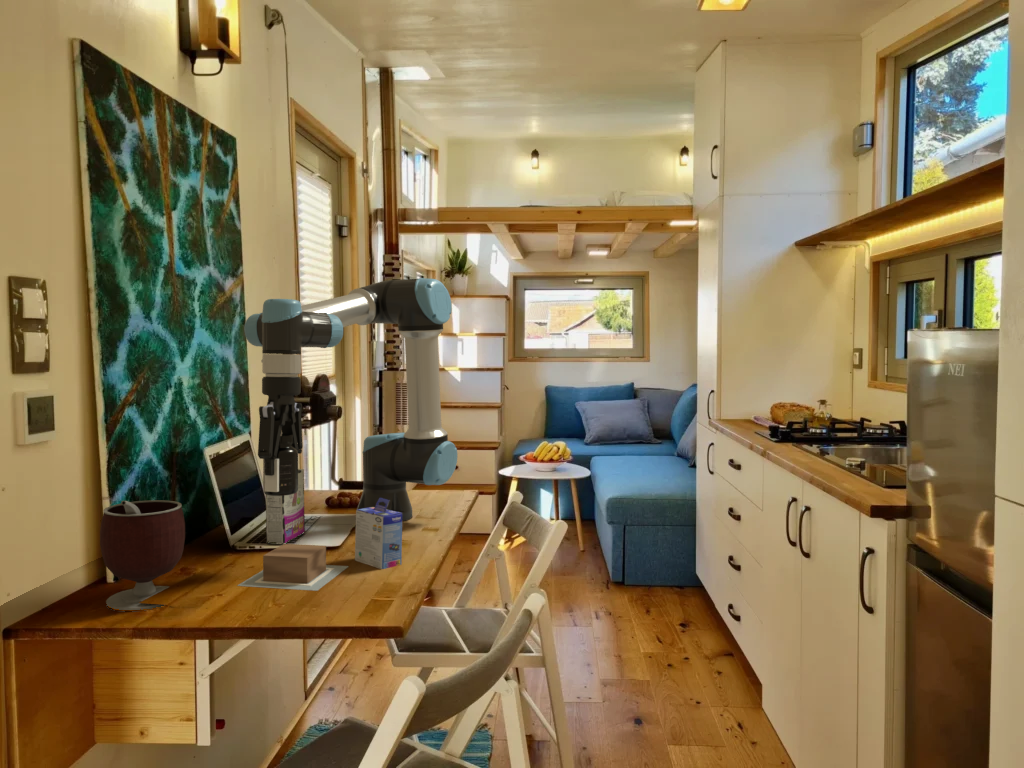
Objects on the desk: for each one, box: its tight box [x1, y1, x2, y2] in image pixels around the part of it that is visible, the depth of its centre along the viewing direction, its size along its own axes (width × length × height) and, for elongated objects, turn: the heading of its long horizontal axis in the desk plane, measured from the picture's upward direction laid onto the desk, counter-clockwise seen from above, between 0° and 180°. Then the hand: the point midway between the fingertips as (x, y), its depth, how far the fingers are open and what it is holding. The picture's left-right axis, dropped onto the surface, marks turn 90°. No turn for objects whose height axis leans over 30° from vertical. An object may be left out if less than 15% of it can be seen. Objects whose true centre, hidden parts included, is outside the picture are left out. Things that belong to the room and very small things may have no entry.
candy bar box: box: [265, 468, 306, 543], centre depth 181 cm, size 11×5×16 cm, turn 170°
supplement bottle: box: [262, 433, 299, 496], centre depth 152 cm, size 7×7×12 cm
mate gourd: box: [99, 499, 186, 610], centre depth 136 cm, size 16×14×20 cm
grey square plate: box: [236, 564, 349, 592], centre depth 148 cm, size 16×16×1 cm
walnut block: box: [262, 543, 327, 584], centre depth 148 cm, size 9×9×5 cm
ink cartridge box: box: [354, 498, 403, 570], centre depth 158 cm, size 10×6×14 cm, turn 47°
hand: (280, 488), depth 153 cm, fingers closed on supplement bottle, 7 cm apart
